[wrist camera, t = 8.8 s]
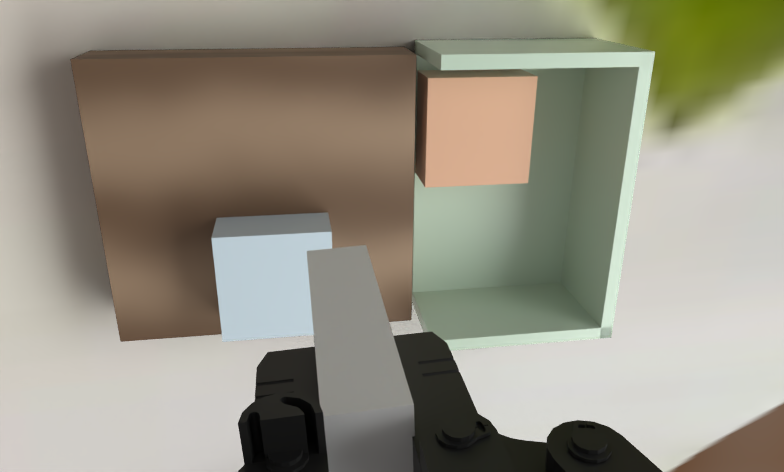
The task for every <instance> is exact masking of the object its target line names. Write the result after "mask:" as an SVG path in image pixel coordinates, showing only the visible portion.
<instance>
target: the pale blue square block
mask: <svg viewBox="0 0 784 472" xmlns="http://www.w3.org/2000/svg"><path fill="white" fill-rule="evenodd" d="M211 239H212V248H213V258H214V267H215V276H216V285H217V294H218V304H219V313H220V322H221V331H222V340H223V342H226V341H239V340H253V339H266V338H279V337H292V336H306V335H314V331H313V320H312V308H311V296H310V285H309V273H308V262H307V251H311V250H321V249H331V248H332V231H331V225H330V220H329V215H328V212H326V213H305V214H285V215H264V216H244V217H223V218H216V222H215V226H214V230H213V234H212V238H211Z"/></svg>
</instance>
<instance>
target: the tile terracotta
mask: <svg viewBox="0 0 784 472" xmlns="http://www.w3.org/2000/svg"><path fill="white" fill-rule="evenodd" d="M537 79H538V76H536V75H534V74H531V73H529V72H526V71H524V70H522V69H489V70H418V79H417V126H416V174H417V176H418V177H419V179H420V180H421V182H422V183H423V185H424V187H425V188H427V187H450V186H474V185H497V184H521V183H528V179H529V168H530V157H531V146H532V135H533V124H534V113H535V101H536V90H537Z"/></svg>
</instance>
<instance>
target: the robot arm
mask: <svg viewBox="0 0 784 472" xmlns="http://www.w3.org/2000/svg"><path fill="white" fill-rule="evenodd" d="M307 262H308V273H309V285H310V296H311V308H312V320H313V331H314V343H315V347H308V348H300V349H291V350H283V351H274V352H268V353H267V354H266V355H265V357H264V358H263V360H262V361H261V362H260V364H259V365H258V367H257V374H256V390H255V402H253V403H252V404H251V405H250V406H249V407H248V408H247V409H246V410H244V411H243V412H242V415H241V417H240V420H239V422H238V426H239V432H240V439H241V445H242V451H243V457H244V463H245V465H244V466H243V467H242V468H241V469H240V470H239V471H238V472H662V471H661V470H660V469H659V468H658V467H657V466H656V465H654V464H653V463H652V462H651V461H650V460H649V459H648V458H647V457H645V456H644V455H643V454H642V453H641V452H640V451H639V450H638V449H636V448H635V447H634V446H633V445H632V444H631V443H630V442H629V441H627V440H626V439H625V438H624V437H623V436H622V435H620V434H619V433H617V432H616V431H614V430H613V429H611V428H610V427H607V426H604V425H601V424H599V423H596V422H590V421H579V420H577V421H571V422H565V423H562V424H561V425H559V426H557V427H555V428H553V429H552V431H551V433H550V434H549V436H548V437H547V443H544V442H534V441H524V440H518V439H513V438H509V437H506V436H503V435H501V434H499V433H498V432H497V430H496V428H495V427H494V426H493V425H492V423H491V422H490V421H489V420H488V419H486V418H484V417H482V416H481V415H479V414H478V413H477V411H476V408H475V406H474V404H473V401H472V399H471V397H470V395H469V392H468V390H467V388H466V385H465V383H464V381H463V379H462V376H461V374H460V372H459V371H458V367H457V365H456V363H455V360H453V356H452V353H451V351H450V349H449V347H448V344H447V343H446V342H445V341H444V340H442V339H441V338H440V337H439V336H437V335H436V334H435V333H433V332H423V333H414V334H406V335H397V336H393V333H392V330H391V327H390V323H389V320H388V317H387V313H386V310H385V307H384V303H383V300H382V297H381V293H380V290H379V287H378V283H377V280H376V277H375V273H374V270H373V267H372V263H371V260H370V257H369V254H368V250H367V247H366V245H362V246H352V247H341V248H331V249H321V250H311V251H307Z"/></svg>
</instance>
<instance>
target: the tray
mask: <svg viewBox="0 0 784 472" xmlns="http://www.w3.org/2000/svg"><path fill="white" fill-rule="evenodd" d="M415 54H416V98H415V151H414V204H413V257H412V303H413V305H414V308H415V311H416V313H417V316H418V318H419V321H420V323H421V326H422V329H423V331H424V332H433V333H435V334H436V335H437V336H439V337H440V338H441V339H442V340H444V341H445V342H446V343H447V344H448V347H449V349H450V351H452V350H464V349H477V348H489V347H501V346H514V345H526V344H538V343H550V342H563V341H575V340H587V339H599V338H611V335H612V328H613V322H614V315H615V309H616V302H617V296H618V289H619V283H620V276H621V270H622V263H623V257H624V250H625V244H626V237H627V231H628V224H629V218H630V211H631V205H632V198H633V192H634V185H635V179H636V172H637V166H638V159H639V153H640V146H641V140H642V133H643V127H644V120H645V114H646V108H647V101H648V95H649V88H650V82H651V75H652V69H653V62H654V56H655V52H654V51H650V50H645V49H641V48H637V47H632V46H628V45H623V44H619V43H614V42H610V41H606V40H601V39H597V38H565V39H471V40H415ZM489 69H522V70H524V71H526V72H529V73H531V74H534V75H536V76H538V79H537V90H536V101H535V113H534V124H533V135H532V146H531V157H530V168H529V179H528V183H521V184H497V185H474V186H450V187H427V188H425V187H424V185H423V183H422V182H421V180H420V179H419V177H418V176H417V174H416V126H417V79H418V70H489Z"/></svg>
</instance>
